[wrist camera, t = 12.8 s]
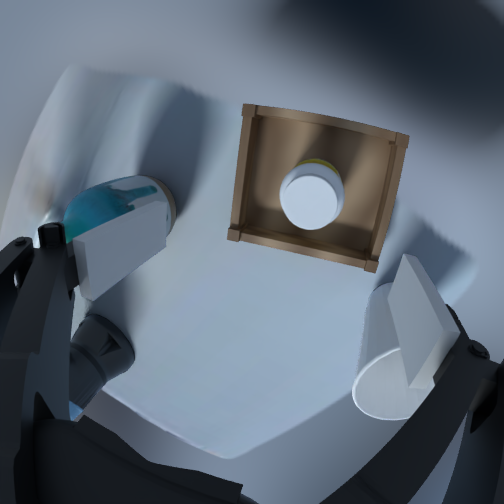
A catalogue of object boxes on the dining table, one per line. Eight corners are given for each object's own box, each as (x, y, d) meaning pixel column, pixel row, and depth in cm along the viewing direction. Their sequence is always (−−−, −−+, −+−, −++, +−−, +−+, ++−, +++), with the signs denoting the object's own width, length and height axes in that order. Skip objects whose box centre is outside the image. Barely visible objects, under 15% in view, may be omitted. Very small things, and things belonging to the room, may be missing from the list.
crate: (238, 228, 39) (227, 239, 35) (253, 107, 32) (243, 103, 28) (371, 257, 35) (375, 273, 31) (399, 136, 29) (409, 135, 25)
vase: (180, 249, 42) (95, 317, 25) (125, 225, 44) (35, 274, 27) (195, 181, 38) (95, 221, 21) (135, 162, 39) (30, 188, 22)
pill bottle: (280, 174, 34) (258, 188, 24) (324, 148, 31) (322, 151, 21) (306, 217, 35) (296, 250, 25) (350, 193, 32) (359, 218, 22)
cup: (411, 250, 33) (452, 319, 19) (437, 315, 35) (468, 393, 21) (335, 290, 38) (332, 373, 24) (369, 347, 40) (373, 431, 26)
